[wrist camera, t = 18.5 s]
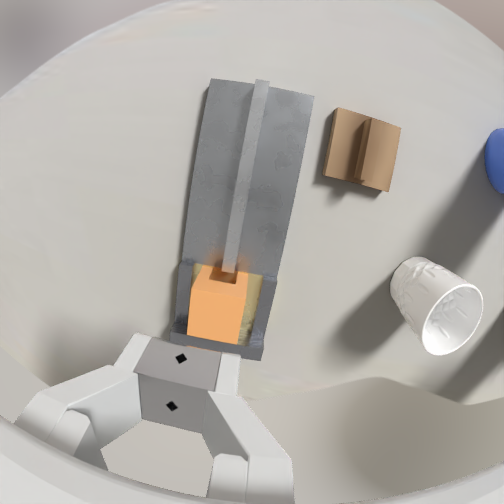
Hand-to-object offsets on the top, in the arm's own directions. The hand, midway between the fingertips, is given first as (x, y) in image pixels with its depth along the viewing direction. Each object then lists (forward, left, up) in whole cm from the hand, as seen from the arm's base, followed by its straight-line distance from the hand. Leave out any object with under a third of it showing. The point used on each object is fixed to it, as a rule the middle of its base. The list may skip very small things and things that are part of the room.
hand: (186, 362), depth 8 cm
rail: (0, +1, -23) cm, 23 cm away
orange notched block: (0, +9, -22) cm, 24 cm away
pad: (-11, -9, -23) cm, 27 cm away
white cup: (-22, +4, -24) cm, 33 cm away
